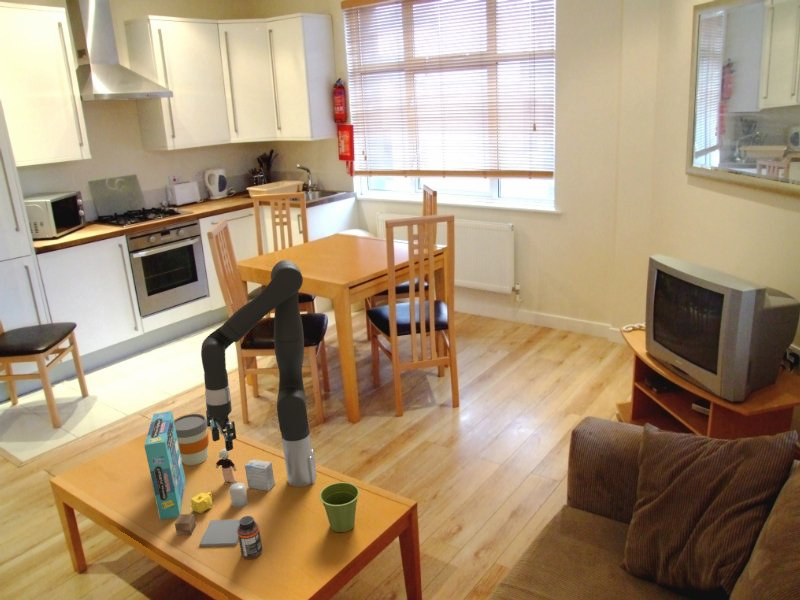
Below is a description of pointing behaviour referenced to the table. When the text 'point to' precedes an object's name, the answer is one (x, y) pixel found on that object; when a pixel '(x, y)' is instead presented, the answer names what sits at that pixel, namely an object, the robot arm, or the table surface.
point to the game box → (165, 465)
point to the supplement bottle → (249, 538)
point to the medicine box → (259, 475)
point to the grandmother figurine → (226, 467)
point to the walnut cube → (185, 524)
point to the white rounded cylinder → (238, 495)
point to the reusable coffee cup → (192, 438)
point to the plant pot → (340, 505)
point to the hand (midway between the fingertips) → (222, 445)
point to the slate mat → (221, 533)
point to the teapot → (201, 502)
